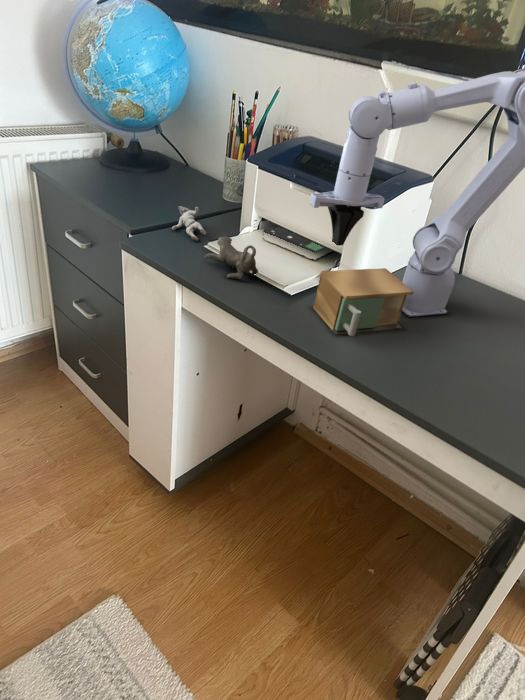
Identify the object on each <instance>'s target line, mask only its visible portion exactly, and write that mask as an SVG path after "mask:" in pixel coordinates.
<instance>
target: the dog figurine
mask: <svg viewBox="0 0 525 700" xmlns="http://www.w3.org/2000/svg"><path fill="white" fill-rule="evenodd" d="M217 238H218V240H217V241H216V244H217V245H219V253H216V252H215V253H214V252H207V253H206V254H205V255H203V257H204V258H205V259H215V260H217V261H218V262H220V263H224V264H226V265H228V266H229V267H231V268H232V269H233V270H235V269H236V271H237V272H230V273H228V274H227V275H226V276H225V277H226V278H227V279H238V280H241V279H242V278H243V277H244V274H246V275H249V274H250V276H251V277H253V278H254V277H256V276H257V274H258V273H259V270H258V268H257V265H256V264H257V262H256V258H255V257H256V255H257V249H256V247H255V246H254V245H251V244H250V245H246V247H244V249H243V251H239V250H237V248H235V247H234V246H233V245H232V240H233V239H232V238H231V237H229V236H219V237H217ZM249 249H251V250H252V252H251V253H250V252H248V250H249ZM250 272H252V273H250ZM256 273H257V274H256ZM254 274H256V275H254Z"/></svg>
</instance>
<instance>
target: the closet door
mask: <svg viewBox="0 0 525 700" xmlns="http://www.w3.org/2000/svg"><path fill="white" fill-rule="evenodd" d="M384 298H385V297H370V298H355V299H345V298H343V300H342V303H341V307H340V311H339V315H338V319H337V323H336V326H335V329H336V331H340V330H347V331H348V334H347V335H348V336H351V337H354V336H356V333H355V332H356V329H361V328H372V327H376V324H377V321H378V317H379V314H380V311H381V308H382V305H383V301H384Z"/></svg>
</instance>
